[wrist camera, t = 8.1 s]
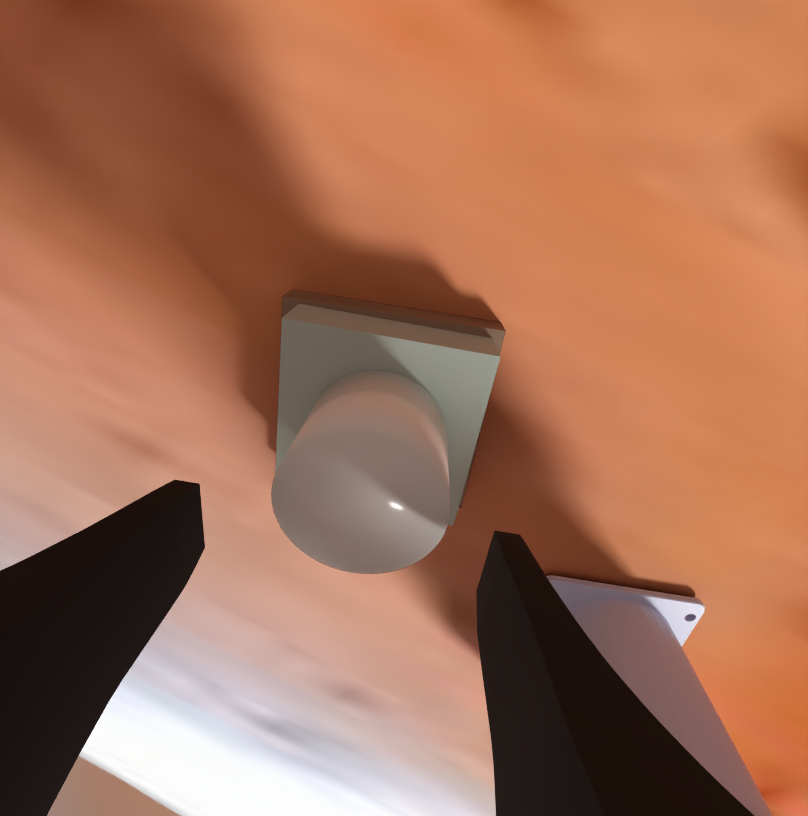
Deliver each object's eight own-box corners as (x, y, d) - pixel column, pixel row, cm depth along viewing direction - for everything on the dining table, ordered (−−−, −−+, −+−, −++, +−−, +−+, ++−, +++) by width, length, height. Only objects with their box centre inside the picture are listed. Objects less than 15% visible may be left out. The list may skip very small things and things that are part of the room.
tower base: (458, 481, 21) (461, 507, 19) (292, 455, 21) (279, 480, 19) (497, 317, 17) (505, 331, 15) (298, 285, 17) (282, 296, 15)
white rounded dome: (433, 499, 16) (432, 586, 13) (306, 478, 16) (269, 558, 13) (460, 383, 14) (468, 447, 11) (314, 359, 14) (272, 415, 11)
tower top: (451, 494, 19) (453, 525, 17) (289, 466, 18) (274, 495, 17) (492, 338, 16) (500, 356, 14) (299, 303, 15) (281, 317, 14)
